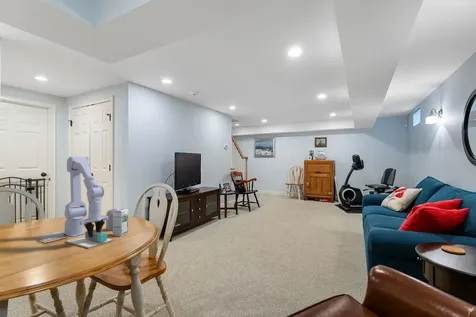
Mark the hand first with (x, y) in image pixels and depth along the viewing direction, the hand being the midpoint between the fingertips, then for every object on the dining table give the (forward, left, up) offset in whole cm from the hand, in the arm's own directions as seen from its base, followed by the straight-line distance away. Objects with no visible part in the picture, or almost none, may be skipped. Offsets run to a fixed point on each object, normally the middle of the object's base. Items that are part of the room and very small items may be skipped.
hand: (94, 236), depth 130 cm
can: (-12, +20, -3) cm, 24 cm away
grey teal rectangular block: (+1, 0, -2) cm, 2 cm away
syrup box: (+1, +15, -3) cm, 15 cm away
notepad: (-2, -1, -3) cm, 4 cm away
